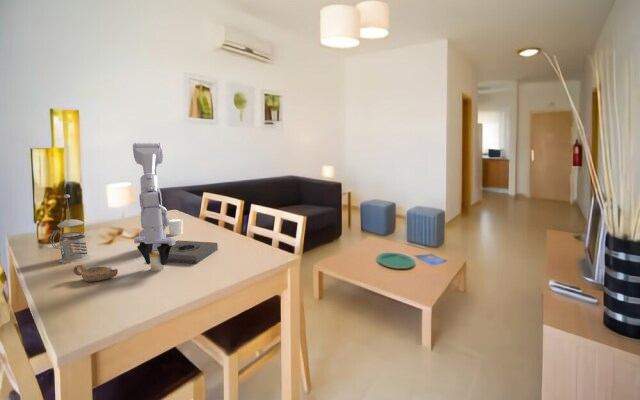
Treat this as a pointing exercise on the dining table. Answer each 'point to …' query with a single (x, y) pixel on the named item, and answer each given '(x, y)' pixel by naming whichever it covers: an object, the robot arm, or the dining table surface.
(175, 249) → the dark grey slab
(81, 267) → the oil lamp
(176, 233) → the cream tapered cylinder
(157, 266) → the plug
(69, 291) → the dining table surface
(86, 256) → the french press
